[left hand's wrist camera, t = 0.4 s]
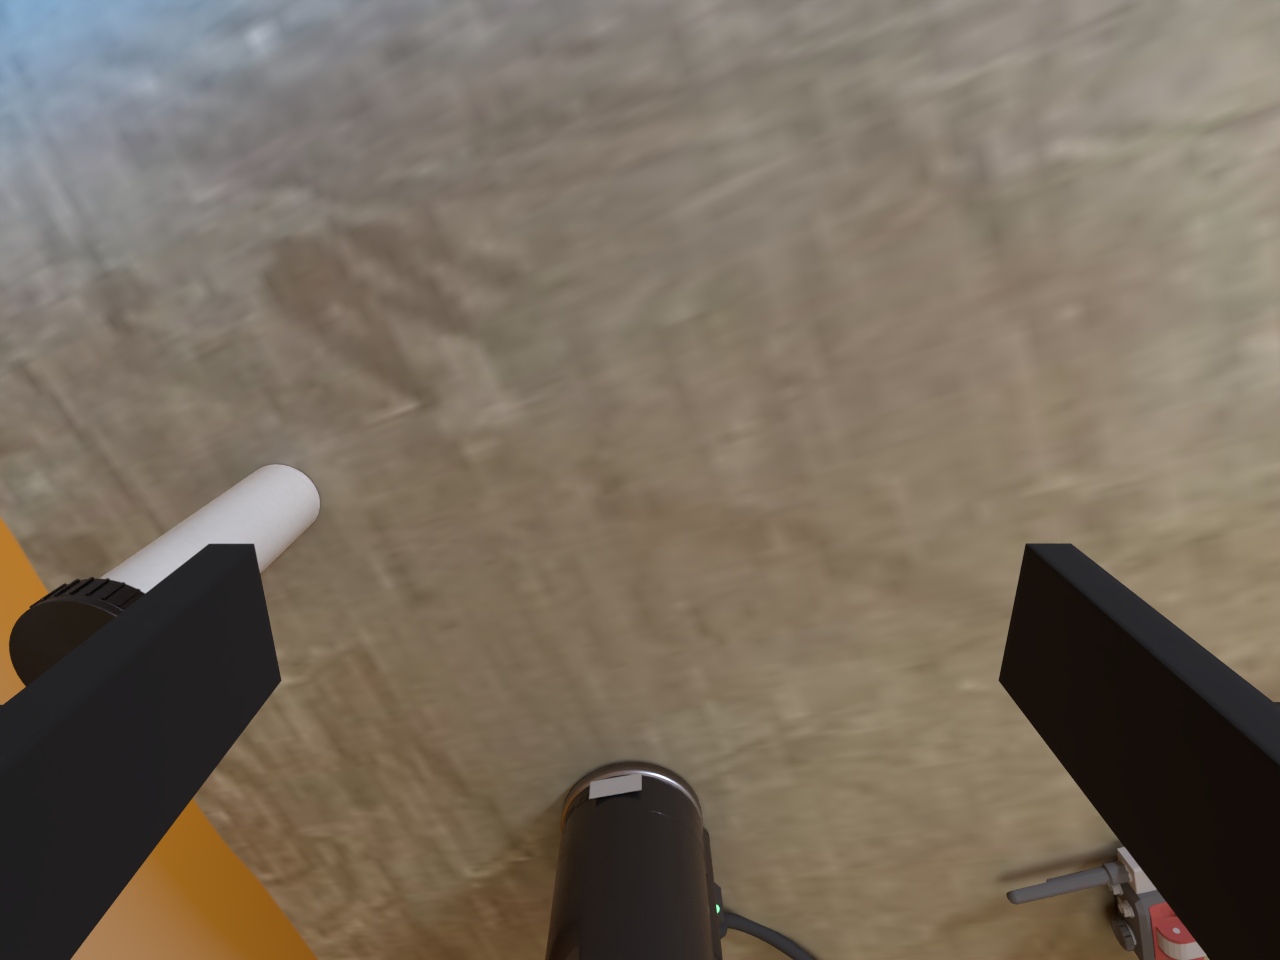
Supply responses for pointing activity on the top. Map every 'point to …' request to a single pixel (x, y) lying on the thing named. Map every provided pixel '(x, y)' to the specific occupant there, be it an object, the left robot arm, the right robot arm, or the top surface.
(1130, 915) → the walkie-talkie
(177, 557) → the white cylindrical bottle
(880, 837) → the top surface
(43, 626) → the lid
